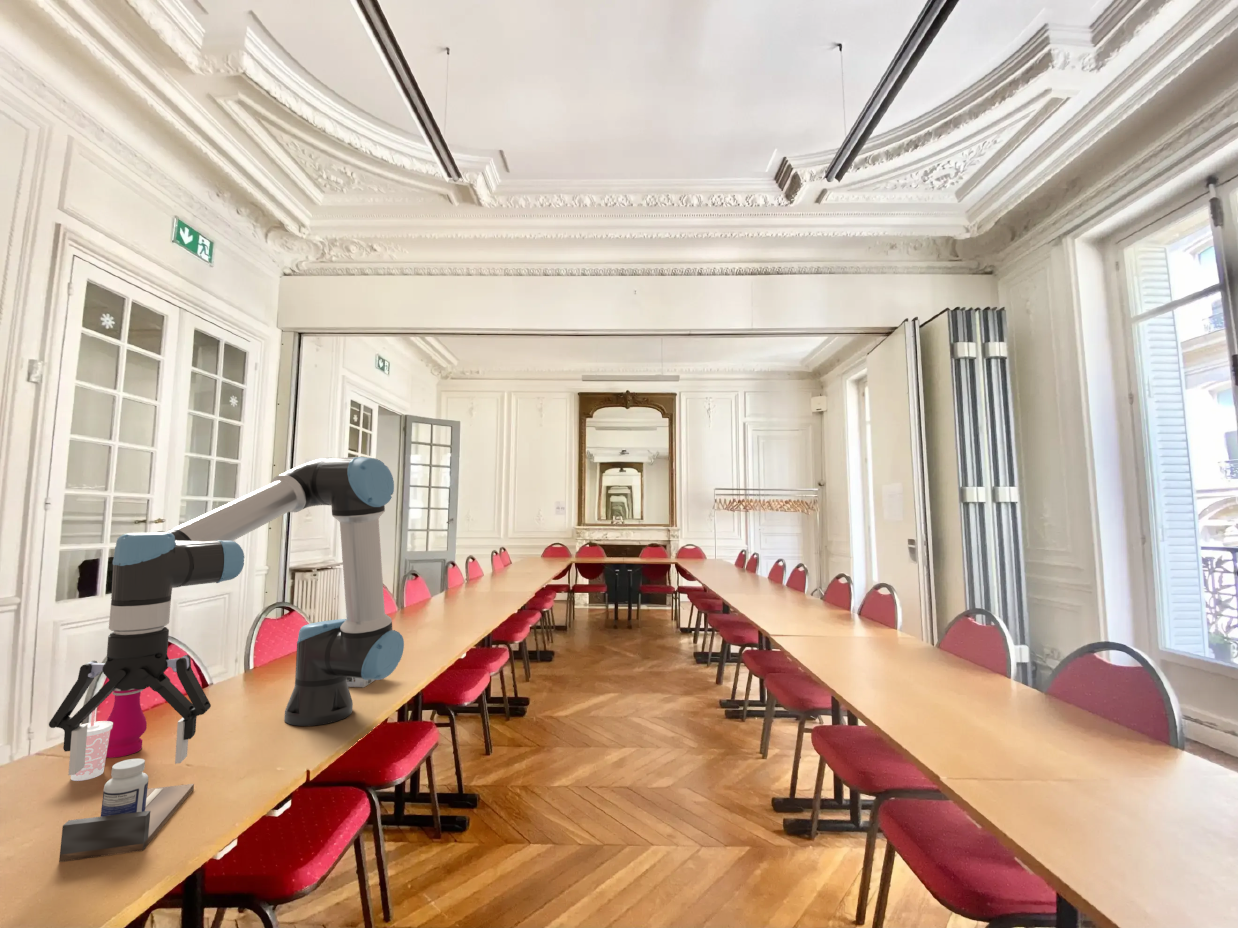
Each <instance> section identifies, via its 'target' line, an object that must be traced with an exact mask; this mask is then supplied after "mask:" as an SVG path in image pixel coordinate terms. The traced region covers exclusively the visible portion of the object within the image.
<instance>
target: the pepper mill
mask: <svg viewBox="0 0 1238 928" xmlns="http://www.w3.org/2000/svg"><path fill="white" fill-rule="evenodd" d="M143 691H144V689H141V690H138V689H130V690H127V691H121V690H120V689H117V688H116V689H115V690H114V691H113V692H112V693H111V694H112V695H113V696H114V702H113V708H112V709H111V712H110V714H109V716H108V718H107V719H106V721H111V722H113V725H112V726H113V727H112V729H111V730H110V736H109V742H108V748H107V754H106V758H109V759H113V758H121V757H125V756H129V755H133V754H135V753H137V752H139V751H140V750H141V749H142V748H143V739H142V738H141V737H142V736H143V735H144V734H145V732H146V731H147V724H148V723H147V719H146V718H147V717H146V716H145V714H144V712H143V709H142V707H141V706H142V705H141V692H143Z"/></svg>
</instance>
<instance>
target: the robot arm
mask: <svg viewBox="0 0 1238 928" xmlns="http://www.w3.org/2000/svg"><path fill="white" fill-rule="evenodd" d="M394 492H395V481H394V477H393V474H392V472H391V469H390V468H389V467H388V466H387V465H386V464H385V463H384V462H383V460H380V459H377V458H376V457H375V458H374V457H365V456H353V457H351V456H349V457H348V456H347V457H322V458H318V459H314V460H311V461H308V462H305V463H303V464H300V465H298V466H296V467H293V468H291V469H289V470H287V471H285V472H282V473H280V474H278V475H276V476H274V477H273V478H272V480H271V482H270V483H269V484H267V485H265V486H262V487H260V488H258V489H256V490H254V491H253V490H252V491H251V492H250V493H248V494H245V495H243V496H241V497H238V498H237V499H234V500H232V501H230V502H227V503H226V504H224V505H220V506H218V507H216V508H214V509H213V510H210V511H207V512H206V513H203V514H201V515H199V516H197V517H195V518H193V519H190V520H188V521H185V522H184V523H181V524H180V525H177V526H175V527H173V528H171V529H168V530H165V531H164V532H161V531H160V532H159V531H158V532H156V531H155V532H154V531H153V532H128V533H123V534H122V535H119V537H118V538H117V540H116V542H115V543H116V544H115V547H114V553H113V559H112V580H111V581H112V583H111V595H110V596H111V598H110V599H111V600H110V609H109V621H108V630H110V631H111V633H110V634H108V636H107V648H106V661H105V662H103V663H102V662H98V661H97V660H91V661H89V662H87V663H85V664H82V665H81V666H80V667H79V672H78V675H77V680H76V681H75V683H74V684H73V686H72V688H71V689H70V691H69V692H68V694H67V695H66V697H65V698H64V700H63V701H62V702H61V704H60V706H58V708H57V710H56V711H55V713H54V715H53V716H52V718H51V719H50V721H49V722H48V727H49V728H50V729H56V728H57V729H62V730H63V732H64V736H63V751H64V752H65V753H66V752H69V762H68V774H67V775H68V776H71V775H75V774H76V773H77V772H79V771H80V770H81V769H82V768H84V766H85V753H86V740H87V726H88V724H87V725H82V723H84V721H85V720H86V719H87V718H88V717H89V716H90V715H92V712H93V711H94V710H95V711H96V710H97V708H98V707H99V706H100V705H101V704H102V703H103V702H104V701H105V700H106V699H107V698H108V697H109V696H110V695H111V694H112V693H113V691H114V690H115V689H116V688H117V689H120V690H121V691H127V690H130V689H138V690H141V689H143V690H145V689H147V688H150V689H151V690H153V692H157V693H158V695H160V697H162V699H164V701H166V702H167V704H169V706H171V707H172V708H173V710H175V711H176V712H177V713H178V714H179V715H180V717H181V718H180V719H179V720H178V721H177V728H176V740H175V741H176V742H175V758H174V759H175V760H174V764H175V765H176V764H181V763H182V762H183V761H184V760H185V759H186V758H187V757H188V748H189V740H191V739H192V738H193V737H194V736H195V735H196V731H197V730H196V728H197V717H198V716H201V715H205V714H206V712H207V711H208V710H209V709H211V706H212V704H211V702H210V700H209V698H208V697H207V694H206V693H205V691H204V689H203V688H202V685H201V684H200V682H199V680H198V678H197V677H196V675H195V673H194V671H193V668H192V660H191V656H190V655H188V654H185V655H183V656H181V657H176V658H171V659H170V658H169V656H168V649H169V648H168V647H169V635H170V629H169V628H168V627H167V626H168V625H169V623H170V616H171V606H172V605H171V602H172V593H173V592H172V591H173V588H174V589H175V588H180V587H188V586H197V585H204V584H214V583H215V584H219V583H221V582H226V581H231V580H233V579H235V578H237V577H239V575H240V574H241V572H243V568H244V565H245V553H244V550H243V548H242V546H241V545H240V544H238V542H237V541H235V540H237V539H239V538H241V537H243V536H245V535H247V534H249V533H251V532H253V531H255V530H257V529H258V528H260V527H263V526H265V525H266V524H268V523H270V522H272V521H274V520H276V519H278V518H280V517H281V516H283V515H285V514H287V513H299V512H300V511H303V510H304V509H307V508H310V507H311V508H312V507H315V506H316V507H318V506H331V516H332V517H333V518H334V519H335V520H337V521H338V522H339V527H340V544H341V546H340V547H341V558H342V559H341V560H342V570H343V571H342V572H343V585H344V587H343V588H344V602H345V614H346V615H345V616H346V618H339V619H330V620H324V621H323V620H322V621H317V622H312V623H308V624H305V625H303V626H301V627H300V629H299V631H298V637H297V642H296V658H295V660H296V661H295V676H294V677H295V678H294V688H293V690H292V692H291V694H290V697H289V699H288V701H287V704H286V707H285V710H284V717H283V719H284V723H286V724H288V725H291V726H292V725H293V726H297V727H301V726H302V727H309V726H312V727H313V726H319V725H327V724H330V723H331V724H332V723H334V722H335V723H336V722H338V721H341V720H344V719H345V718H347V717H349V716H350V715H351V714H352V713H353V706H354V705H353V704H354V702H353V699H352V696H351V692H350V687H348V684H347V677H353V678H361V679H364V680H371V679H372V680H375V681H379V680H384V679H386V678H387V677H389V676H391V674H393V672H394V671H395V670H396V668H397V667H398V665H399V663H400V662H401V660H402V658H403V657H402V656H403V653H404V649H405V641H404V637H403V634H401V632H399V631H397V630H395V629H393V620H392V619H393V618H392V617H391V616H389V615H388V614H387V613H386V611H385V598H384V580H383V567H382V566H383V564H382V551H381V550H382V549H381V536H380V532H381V531H380V517H381V516H382V515H383V514H384V513H385V511H386V509H385V508H386V507H385V505H387V504H388V503H390V501H391V500H392V499H393V497H392V495H393V494H394ZM168 668H171V669H172V671H173V672H174V673H176V675H177V678H178V680H179V682H180V683H181V686H182V688H183V689H184V691H185V693H186V695H187V696H188V698H187V697H186V696H185V695H184V694H183V693H182V692H181V691H180V690H179V689H178V688H177V687H176V686H175V685H174V683H172V682H171V679H170V678H169V676H167V675H166V674H165V672H166V671H167V669H168ZM101 672H102V673H103V674H104V675H105V677H106V678H107V679H108V681H106V683H105V684H103V686H102V687H101V688H100V689H99V690H98V692H96V693H95V694H94V695H93V696H92V697H91V698H90V699H89V700H88V701H87V702H86V703H85V704H84V705H83V706H82V707H81V708H80V709H79V710H78V711H77V712H76V713H75V714H73V716H71V715H72V713H73V711H74V710H75V709H76V708H77V706H78V704H79V703H80V701H81V699H82V698H83V697H84V695H85V694H86V692H87V691H88V689H89V687H90V685H91V684H92V682H93V681H94V679H95V678H97V677H98V676H99V675H100V674H101ZM80 725H81V726H80Z"/></svg>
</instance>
